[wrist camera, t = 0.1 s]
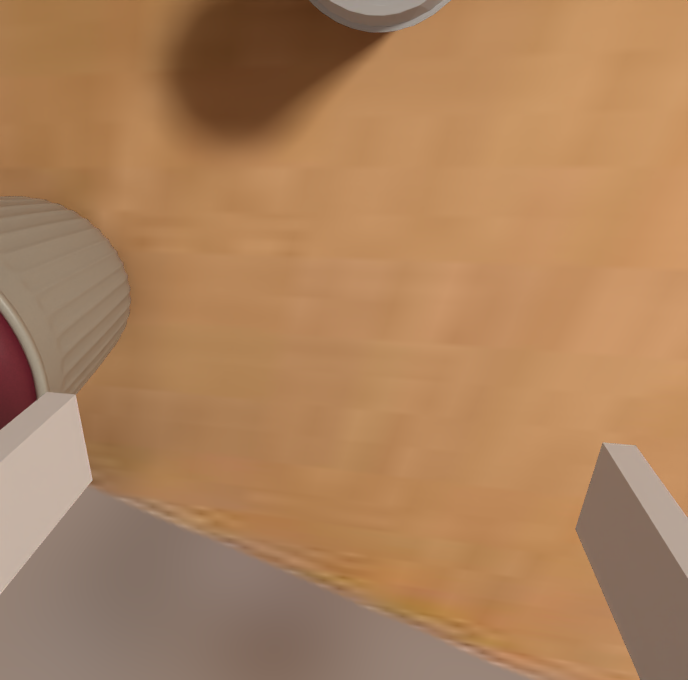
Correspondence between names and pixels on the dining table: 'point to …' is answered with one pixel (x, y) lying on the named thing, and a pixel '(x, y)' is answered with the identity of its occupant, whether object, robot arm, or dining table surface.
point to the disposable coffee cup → (379, 13)
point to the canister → (54, 301)
